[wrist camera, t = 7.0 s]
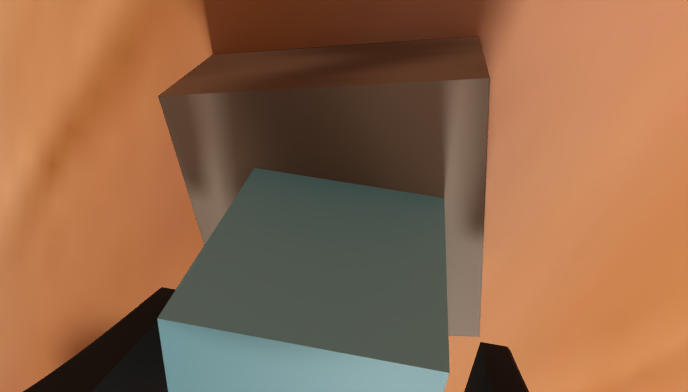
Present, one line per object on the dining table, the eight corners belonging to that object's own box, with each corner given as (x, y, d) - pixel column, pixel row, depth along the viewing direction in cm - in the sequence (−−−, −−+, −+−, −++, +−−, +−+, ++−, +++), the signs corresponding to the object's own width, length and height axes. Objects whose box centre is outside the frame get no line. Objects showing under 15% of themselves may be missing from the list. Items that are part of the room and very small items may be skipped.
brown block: (477, 32, 14) (489, 78, 11) (471, 254, 19) (479, 336, 15) (217, 51, 16) (158, 95, 13) (264, 252, 20) (229, 326, 17)
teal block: (444, 197, 13) (450, 373, 8) (412, 334, 16) (402, 524, 11) (254, 167, 13) (157, 317, 9) (254, 305, 16) (180, 477, 11)
